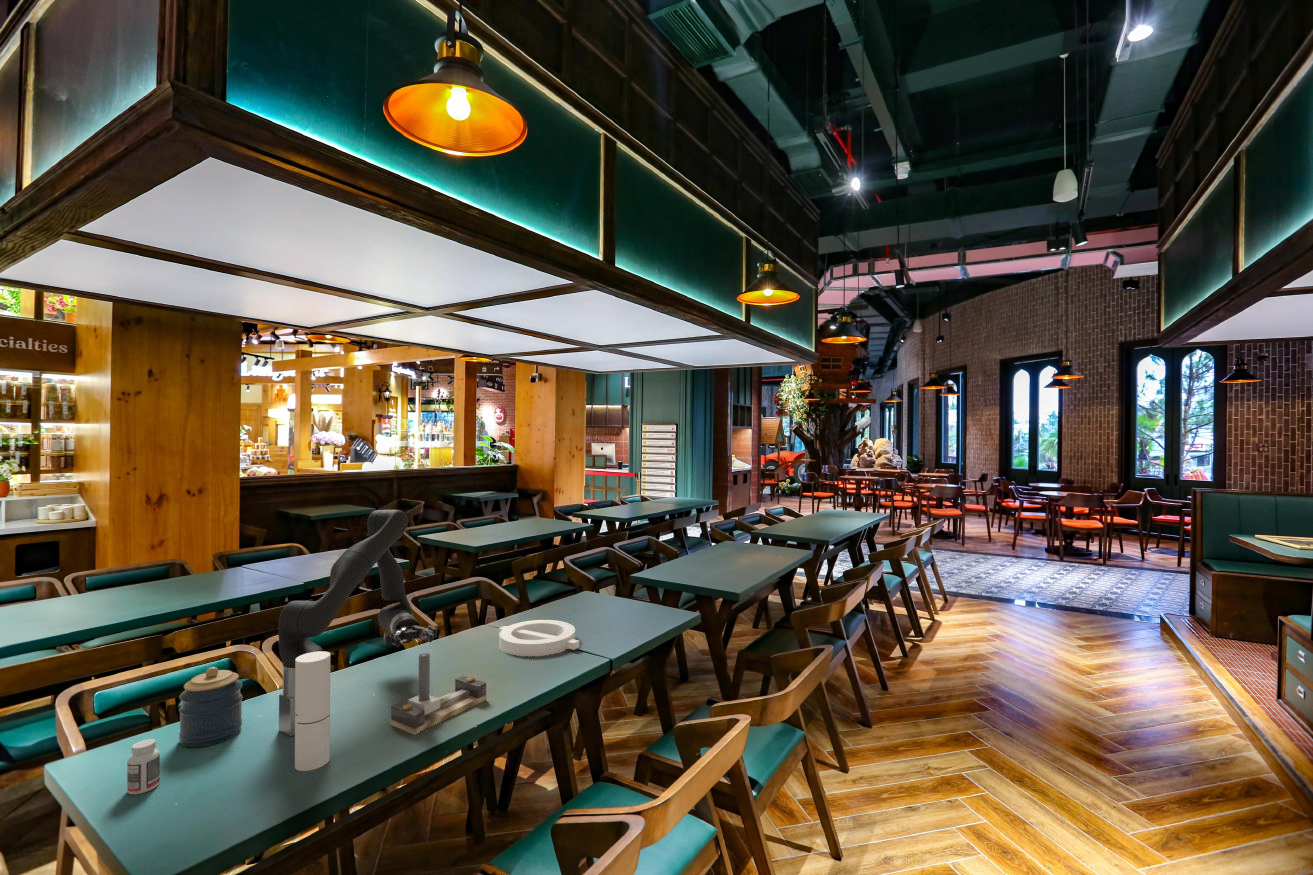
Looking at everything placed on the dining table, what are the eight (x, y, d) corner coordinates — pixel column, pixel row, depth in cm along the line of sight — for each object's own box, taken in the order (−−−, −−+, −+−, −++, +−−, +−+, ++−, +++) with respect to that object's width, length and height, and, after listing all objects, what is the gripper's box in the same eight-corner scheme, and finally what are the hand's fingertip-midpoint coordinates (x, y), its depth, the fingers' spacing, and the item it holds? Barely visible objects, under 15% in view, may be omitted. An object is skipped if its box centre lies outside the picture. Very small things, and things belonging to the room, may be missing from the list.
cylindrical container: (322, 751, 143) (323, 649, 143) (334, 761, 138) (335, 655, 139) (290, 763, 137) (290, 657, 138) (301, 774, 133) (302, 664, 133)
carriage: (424, 714, 155) (424, 660, 155) (407, 708, 159) (408, 655, 159) (440, 707, 160) (440, 654, 160) (423, 701, 163) (423, 649, 163)
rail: (414, 734, 151) (414, 712, 151) (390, 724, 156) (391, 703, 156) (486, 699, 171) (486, 680, 171) (463, 691, 177) (463, 673, 177)
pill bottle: (157, 777, 131) (158, 734, 132) (161, 787, 128) (161, 742, 128) (125, 788, 128) (126, 743, 128) (128, 798, 124) (128, 752, 124)
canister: (252, 721, 158) (252, 656, 158) (224, 746, 145) (225, 675, 145) (199, 725, 156) (199, 659, 156) (166, 750, 143) (166, 678, 143)
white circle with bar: (497, 635, 229) (497, 623, 229) (568, 628, 238) (568, 617, 238) (501, 661, 202) (501, 647, 203) (581, 652, 211) (581, 639, 211)
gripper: (380, 618, 178) (388, 631, 165) (429, 611, 186) (441, 624, 172) (379, 643, 178) (388, 658, 164) (428, 635, 186) (440, 649, 172)
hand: (415, 640), depth 168 cm, fingers open, 8 cm apart
